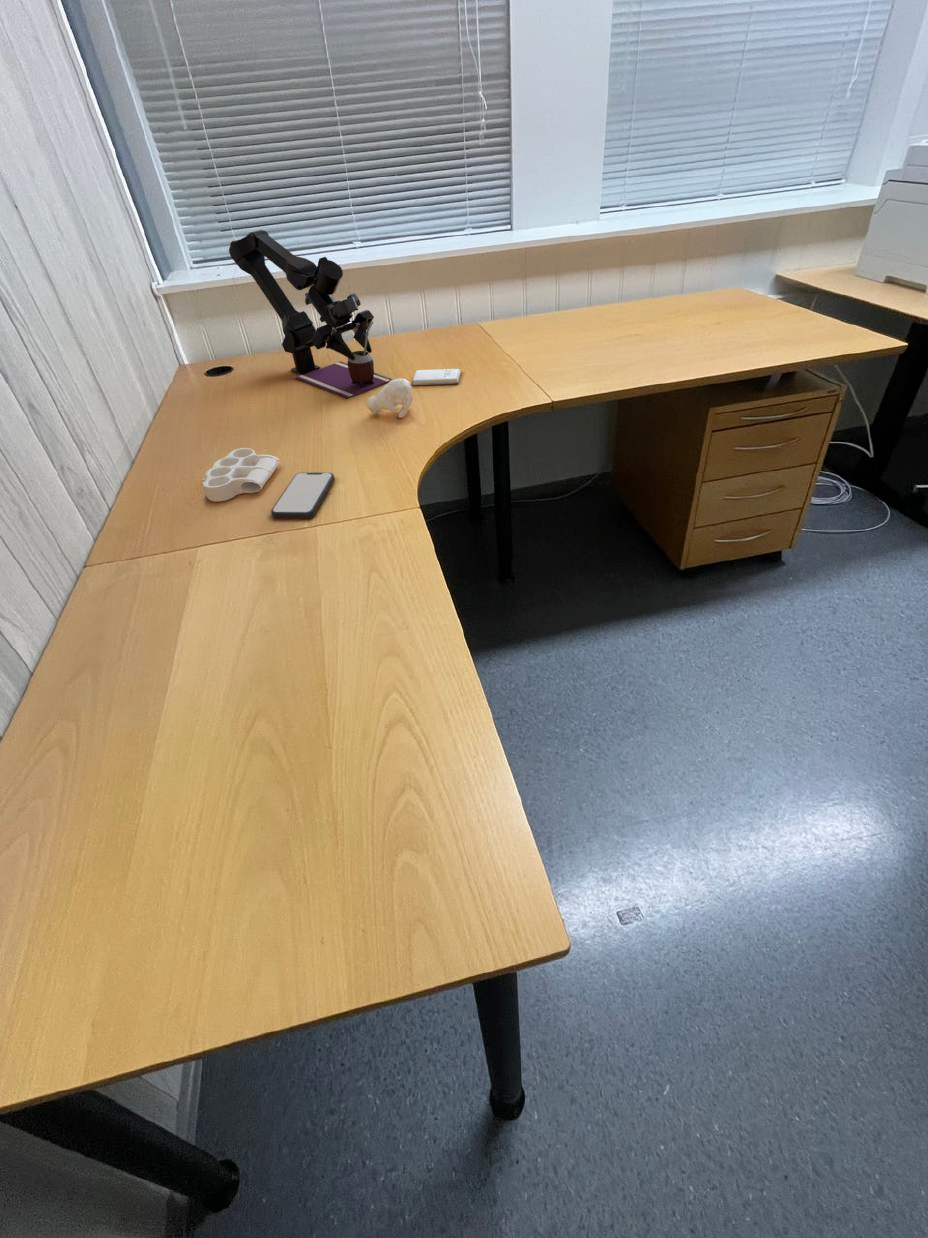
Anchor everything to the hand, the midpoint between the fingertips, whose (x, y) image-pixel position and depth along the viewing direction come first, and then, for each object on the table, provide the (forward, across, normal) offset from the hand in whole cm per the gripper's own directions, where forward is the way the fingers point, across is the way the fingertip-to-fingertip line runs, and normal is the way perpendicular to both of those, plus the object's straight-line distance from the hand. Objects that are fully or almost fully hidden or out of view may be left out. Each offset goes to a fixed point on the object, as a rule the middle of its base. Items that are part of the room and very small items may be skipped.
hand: (362, 355), depth 163 cm
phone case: (+30, -50, -18) cm, 61 cm away
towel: (-2, 0, +13) cm, 13 cm away
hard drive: (+16, +13, -4) cm, 21 cm away
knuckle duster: (+17, -53, -5) cm, 56 cm away
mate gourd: (+4, 0, +7) cm, 8 cm away
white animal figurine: (+20, -10, -8) cm, 24 cm away
